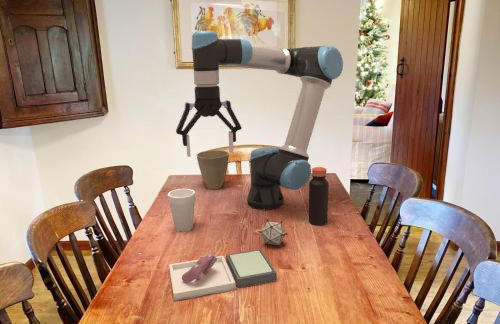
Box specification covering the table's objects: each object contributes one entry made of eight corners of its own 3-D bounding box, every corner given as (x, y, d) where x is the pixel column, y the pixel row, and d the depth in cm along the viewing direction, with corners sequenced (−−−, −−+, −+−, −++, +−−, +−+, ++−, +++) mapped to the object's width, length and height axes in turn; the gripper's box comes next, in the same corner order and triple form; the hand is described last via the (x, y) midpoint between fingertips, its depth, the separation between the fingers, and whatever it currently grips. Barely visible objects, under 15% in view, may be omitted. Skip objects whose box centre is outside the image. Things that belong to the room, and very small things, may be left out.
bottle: (308, 217, 140) (310, 165, 135) (327, 218, 139) (329, 166, 134) (307, 225, 134) (308, 171, 129) (327, 226, 132) (329, 171, 127)
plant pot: (198, 182, 184) (196, 150, 180) (229, 180, 185) (228, 149, 181) (198, 192, 169) (196, 158, 165) (231, 190, 171) (229, 156, 167)
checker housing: (260, 256, 113) (260, 248, 113) (276, 280, 101) (276, 272, 100) (226, 262, 110) (226, 254, 110) (238, 287, 98) (237, 279, 97)
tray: (223, 261, 111) (223, 255, 110) (235, 289, 97) (235, 282, 97) (169, 270, 107) (169, 264, 106) (174, 300, 93) (173, 293, 92)
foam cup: (191, 234, 129) (189, 198, 125) (166, 232, 131) (163, 197, 127) (200, 222, 138) (198, 189, 134) (176, 221, 140) (174, 188, 136)
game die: (278, 252, 123) (296, 228, 122) (271, 255, 115) (290, 230, 114) (257, 235, 125) (274, 211, 124) (249, 237, 118) (268, 212, 117)
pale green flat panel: (259, 253, 112) (259, 250, 112) (272, 274, 101) (272, 271, 100) (229, 258, 109) (229, 255, 109) (240, 280, 98) (240, 277, 98)
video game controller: (191, 291, 98) (200, 273, 95) (179, 280, 100) (187, 261, 97) (213, 273, 107) (222, 255, 103) (201, 263, 108) (209, 245, 105)
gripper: (243, 83, 120) (245, 148, 126) (163, 86, 114) (169, 154, 119) (250, 84, 113) (251, 153, 119) (165, 88, 107) (171, 160, 112)
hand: (210, 154), depth 119 cm, fingers open, 13 cm apart
